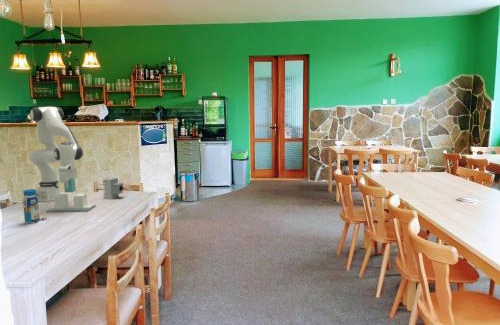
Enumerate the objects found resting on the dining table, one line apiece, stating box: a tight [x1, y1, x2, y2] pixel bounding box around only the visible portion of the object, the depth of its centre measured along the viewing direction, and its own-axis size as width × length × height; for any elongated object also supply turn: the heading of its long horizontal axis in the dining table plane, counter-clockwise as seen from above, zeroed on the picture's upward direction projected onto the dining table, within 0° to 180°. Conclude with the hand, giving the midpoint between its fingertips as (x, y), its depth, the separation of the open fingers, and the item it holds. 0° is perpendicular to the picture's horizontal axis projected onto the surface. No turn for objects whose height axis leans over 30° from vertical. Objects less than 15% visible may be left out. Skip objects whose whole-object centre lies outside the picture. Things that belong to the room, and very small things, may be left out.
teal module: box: [63, 178, 77, 193], centre depth 272 cm, size 5×6×9 cm
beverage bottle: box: [22, 188, 41, 224], centre depth 243 cm, size 8×8×20 cm
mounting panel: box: [45, 193, 97, 213], centre depth 273 cm, size 28×14×10 cm, turn 91°
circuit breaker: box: [102, 177, 125, 200], centre depth 307 cm, size 8×14×15 cm, turn 78°
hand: (69, 186), depth 272 cm, fingers closed on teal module, 5 cm apart
